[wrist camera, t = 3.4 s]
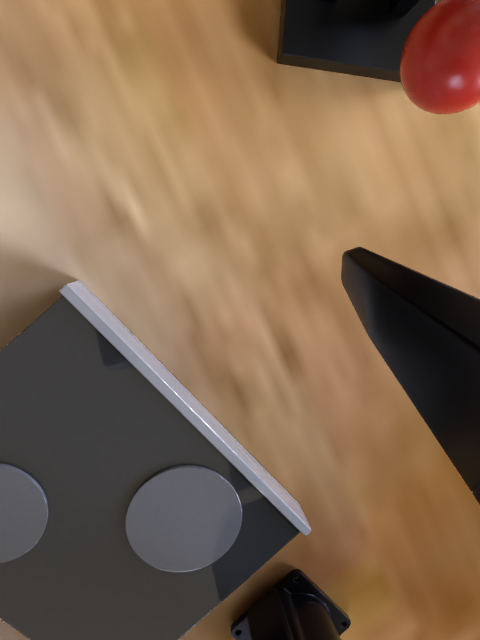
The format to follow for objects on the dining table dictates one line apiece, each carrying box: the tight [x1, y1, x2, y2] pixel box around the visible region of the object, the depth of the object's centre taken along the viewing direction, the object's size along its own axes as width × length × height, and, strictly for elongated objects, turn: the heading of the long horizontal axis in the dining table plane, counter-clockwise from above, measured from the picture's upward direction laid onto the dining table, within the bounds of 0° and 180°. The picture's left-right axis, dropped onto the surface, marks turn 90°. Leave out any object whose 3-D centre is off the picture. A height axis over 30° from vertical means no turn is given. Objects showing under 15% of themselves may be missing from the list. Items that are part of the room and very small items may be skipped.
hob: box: [0, 280, 311, 640], centre depth 24 cm, size 21×16×3 cm
